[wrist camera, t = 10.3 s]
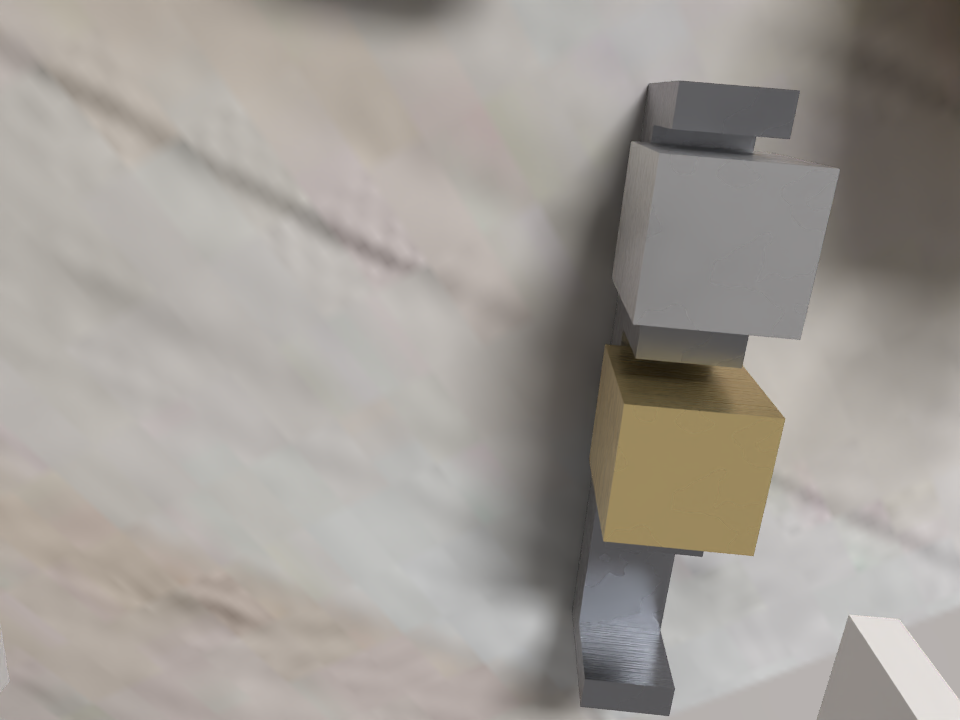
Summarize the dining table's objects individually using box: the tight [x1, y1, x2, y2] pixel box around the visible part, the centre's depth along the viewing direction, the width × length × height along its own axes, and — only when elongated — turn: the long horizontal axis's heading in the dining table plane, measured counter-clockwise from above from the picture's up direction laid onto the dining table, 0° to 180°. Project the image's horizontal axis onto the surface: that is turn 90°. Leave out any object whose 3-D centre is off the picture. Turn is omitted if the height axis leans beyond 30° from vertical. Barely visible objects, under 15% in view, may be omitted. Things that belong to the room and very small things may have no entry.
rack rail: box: [572, 81, 800, 716], centre depth 29 cm, size 4×24×6 cm, turn 175°
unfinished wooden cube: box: [589, 344, 785, 556], centre depth 27 cm, size 5×5×6 cm
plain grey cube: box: [612, 141, 840, 340], centre depth 25 cm, size 5×5×6 cm
